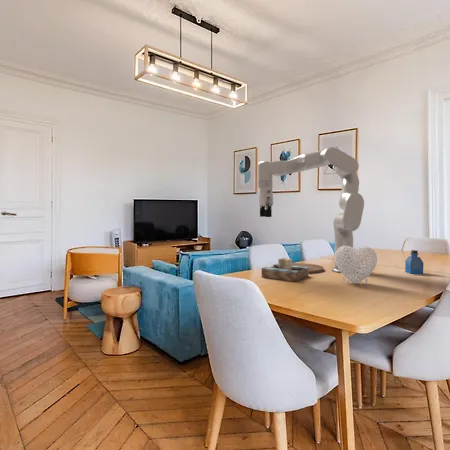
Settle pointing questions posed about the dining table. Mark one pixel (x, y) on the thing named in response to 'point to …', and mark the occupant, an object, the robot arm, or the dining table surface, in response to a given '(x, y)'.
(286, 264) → the beech block
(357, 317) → the dining table surface
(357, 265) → the decorative heart
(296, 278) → the crate
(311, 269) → the trivet
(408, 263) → the perfume bottle
